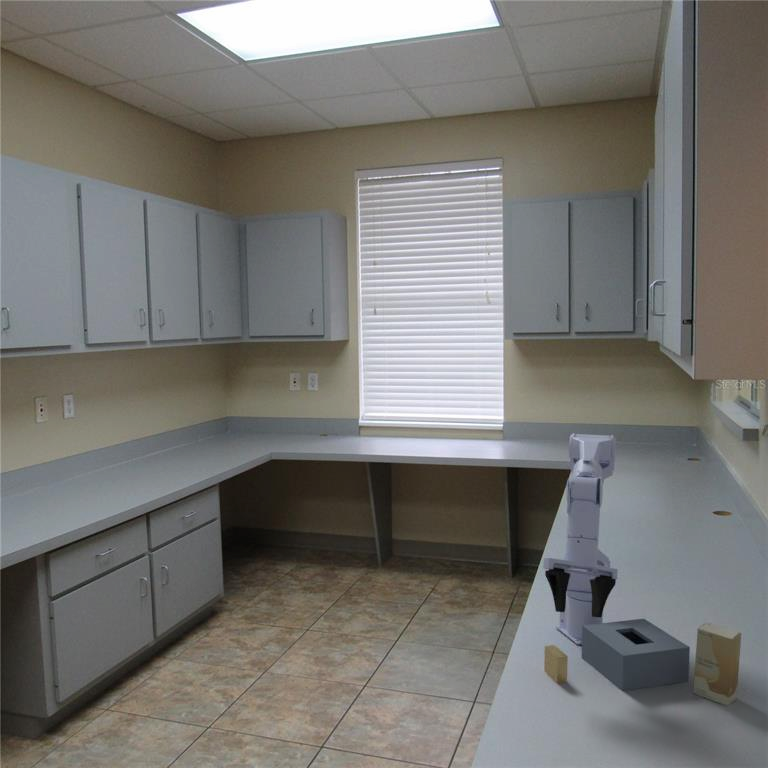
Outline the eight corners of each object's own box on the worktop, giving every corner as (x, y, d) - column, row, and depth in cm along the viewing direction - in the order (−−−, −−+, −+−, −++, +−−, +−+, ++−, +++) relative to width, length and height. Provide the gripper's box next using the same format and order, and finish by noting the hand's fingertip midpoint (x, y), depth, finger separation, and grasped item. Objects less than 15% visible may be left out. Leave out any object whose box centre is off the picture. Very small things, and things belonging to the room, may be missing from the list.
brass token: (544, 671, 140) (544, 646, 140) (553, 670, 141) (554, 644, 140) (557, 683, 135) (557, 657, 135) (566, 682, 136) (567, 656, 136)
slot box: (581, 657, 146) (582, 625, 146) (642, 649, 150) (643, 618, 149) (622, 690, 133) (623, 655, 132) (688, 681, 136) (689, 647, 136)
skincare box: (692, 694, 132) (695, 627, 131) (702, 685, 135) (705, 620, 134) (729, 707, 127) (732, 638, 126) (739, 698, 130) (742, 631, 129)
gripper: (559, 532, 134) (554, 610, 130) (628, 544, 137) (625, 620, 133) (539, 534, 140) (535, 608, 136) (606, 546, 144) (603, 618, 140)
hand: (578, 614), depth 135 cm, fingers open, 7 cm apart
